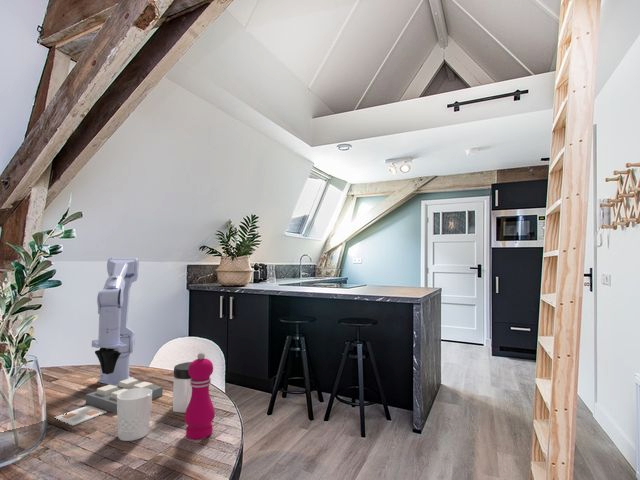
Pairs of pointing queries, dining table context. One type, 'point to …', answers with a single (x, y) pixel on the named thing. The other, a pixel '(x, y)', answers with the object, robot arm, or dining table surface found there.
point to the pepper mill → (200, 400)
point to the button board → (110, 403)
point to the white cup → (133, 413)
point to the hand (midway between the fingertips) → (108, 373)
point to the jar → (181, 387)
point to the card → (80, 415)
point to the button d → (143, 385)
